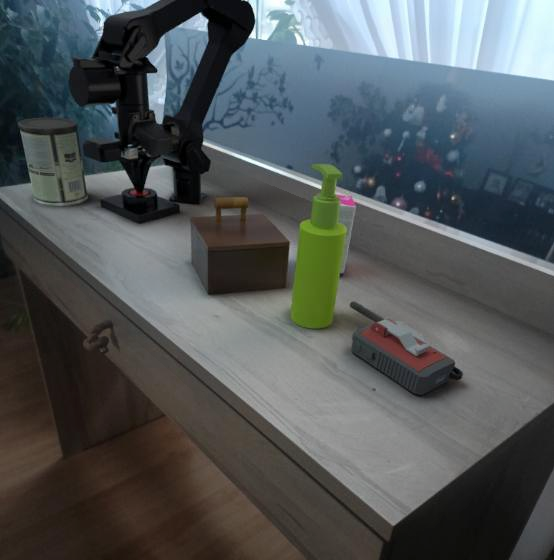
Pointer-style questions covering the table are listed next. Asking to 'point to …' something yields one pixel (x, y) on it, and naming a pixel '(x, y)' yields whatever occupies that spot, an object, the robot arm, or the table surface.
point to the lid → (237, 228)
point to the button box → (140, 206)
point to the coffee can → (54, 160)
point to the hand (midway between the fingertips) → (139, 192)
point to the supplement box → (346, 223)
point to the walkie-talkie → (402, 354)
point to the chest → (239, 267)
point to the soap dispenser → (319, 256)
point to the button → (139, 193)
